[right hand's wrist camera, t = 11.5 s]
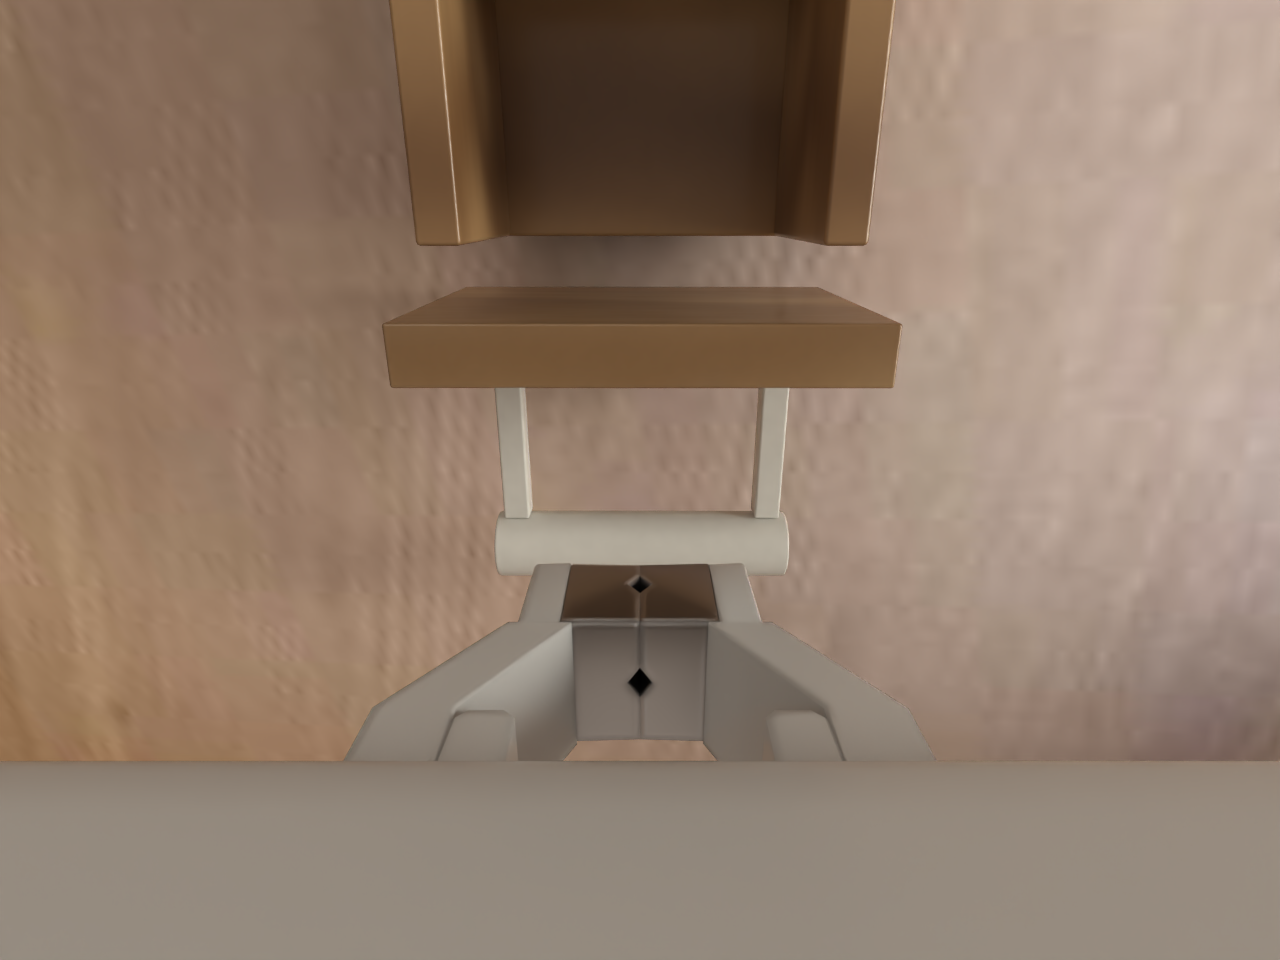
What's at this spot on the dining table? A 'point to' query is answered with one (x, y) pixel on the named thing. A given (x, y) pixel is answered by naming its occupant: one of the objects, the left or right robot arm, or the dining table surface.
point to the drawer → (642, 225)
